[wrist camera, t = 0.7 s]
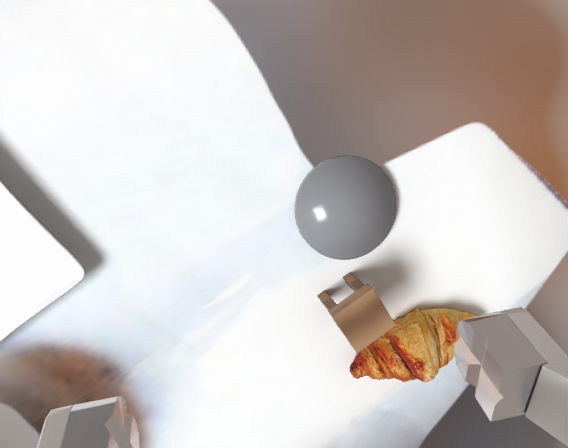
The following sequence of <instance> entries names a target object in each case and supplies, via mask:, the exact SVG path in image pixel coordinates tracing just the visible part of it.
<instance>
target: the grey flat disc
mask: <svg viewBox="0 0 568 448" xmlns="http://www.w3.org/2000/svg"><path fill="white" fill-rule="evenodd" d="M395 214H396V196H395V191H394V188H393V185H392V183H391V181H390V179H389V178H388V176H387V175H386V173H385V172H384V171H383V170H382V169H381V168H380V167H379V166H377V165H376V164H375V163H373V162H371V161H369V160H367V159H364V158H361V157H357V156H338V157H334V158H330V159H328V160H325V161H324V162H322V163H320V164H319V165H317V166H316V167H315V168H313V169H312V170H311V171H310V172H309V173H308V174H307V176H306V177H305V178H304V180H303V182H302V183H301V185H300V187H299V190H298V193H297V196H296V201H295V218H296V223H297V226H298V229H299V231H300V233H301V235H302V237H303V238H304V239H305V241H306V242H307V243H308V244H309V245H310V246H311V247H312V248H313V249H315V250H316V251H317V252H319V253H321V254H322V255H324V256H327V257H329V258H333V259H340V260H348V259H354V258H358V257H361V256H363V255H366V254H368V253H369V252H371V251H372V250H374V249H375V248H376V247H378V246H379V245H380V244H381V243H382V241H383V240H384V239H385V238H386V236H387V235H388V233H389V231H390V229H391V227H392V225H393V222H394V219H395Z"/></svg>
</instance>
